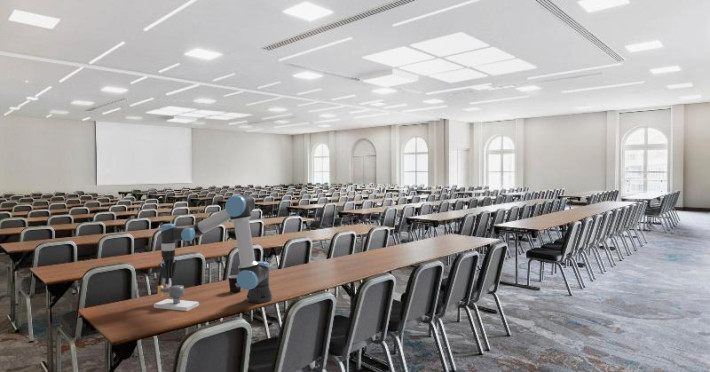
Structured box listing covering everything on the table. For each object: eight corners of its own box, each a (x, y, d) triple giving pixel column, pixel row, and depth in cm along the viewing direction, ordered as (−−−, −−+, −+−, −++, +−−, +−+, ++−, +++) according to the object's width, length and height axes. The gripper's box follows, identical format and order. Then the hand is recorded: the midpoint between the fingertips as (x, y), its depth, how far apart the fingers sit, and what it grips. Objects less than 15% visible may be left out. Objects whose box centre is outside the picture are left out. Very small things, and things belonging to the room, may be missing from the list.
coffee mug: (228, 294, 278) (228, 278, 278) (228, 290, 287) (228, 275, 286) (247, 292, 281) (247, 277, 281) (246, 289, 290) (246, 274, 289)
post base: (199, 305, 254) (198, 295, 254) (186, 311, 244) (186, 300, 244) (167, 302, 260) (166, 292, 260) (153, 307, 250) (153, 297, 250)
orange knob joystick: (186, 296, 255) (186, 285, 254) (177, 300, 247) (177, 289, 247) (163, 294, 259) (162, 283, 259) (153, 298, 251) (153, 287, 251)
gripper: (170, 247, 268) (170, 286, 269) (155, 251, 256) (155, 291, 256) (180, 248, 266) (181, 286, 267) (166, 252, 253) (166, 292, 254)
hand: (168, 289), depth 261 cm, fingers closed
